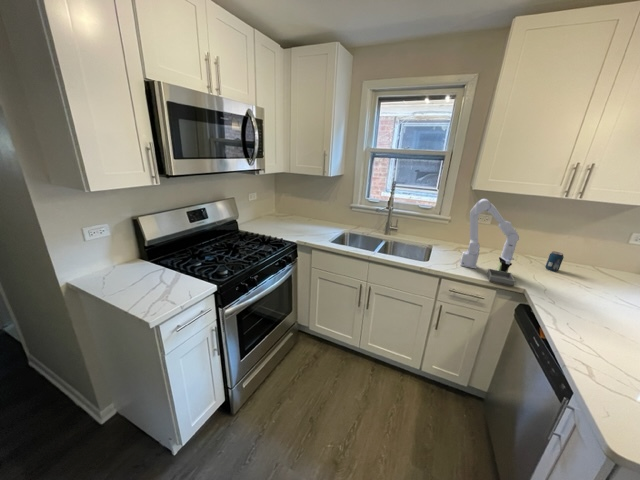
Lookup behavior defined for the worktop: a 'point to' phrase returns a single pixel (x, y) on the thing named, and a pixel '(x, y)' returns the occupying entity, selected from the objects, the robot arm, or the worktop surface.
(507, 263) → the robot arm
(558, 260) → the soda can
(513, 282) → the bin
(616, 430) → the worktop surface
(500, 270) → the light green block
